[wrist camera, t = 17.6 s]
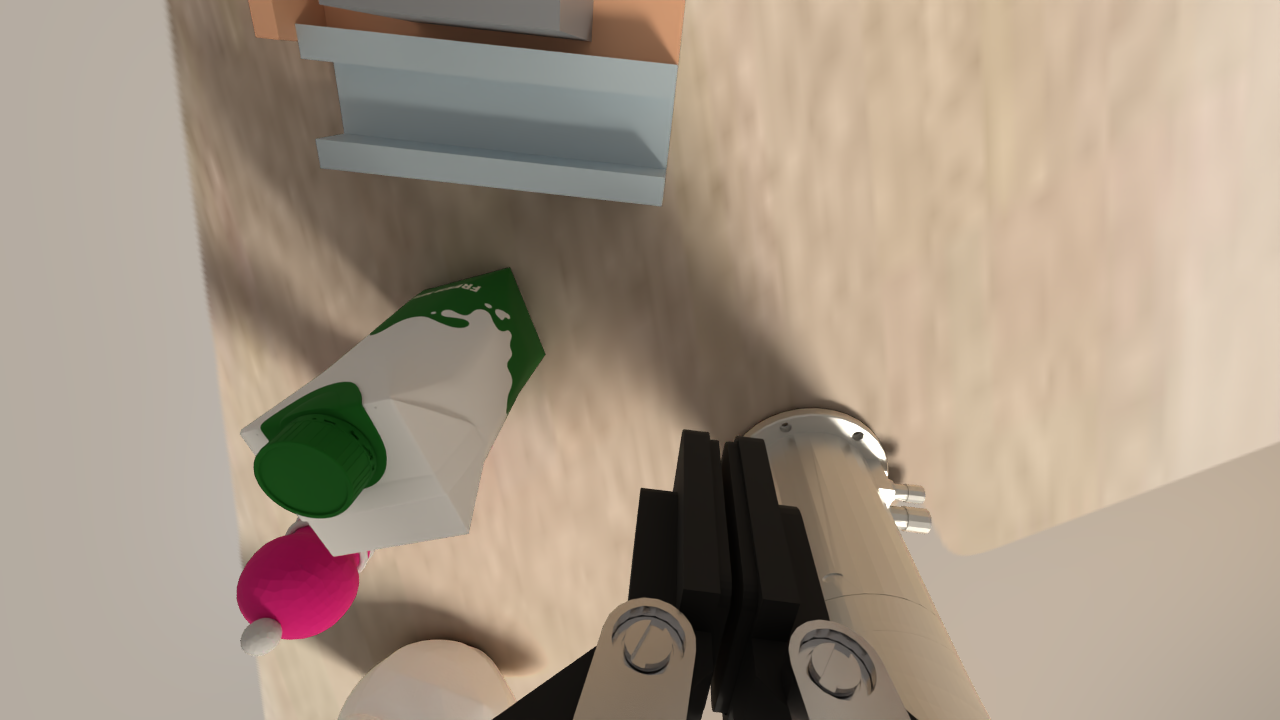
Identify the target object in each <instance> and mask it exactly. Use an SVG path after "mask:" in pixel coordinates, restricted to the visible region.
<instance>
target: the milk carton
mask: <svg viewBox="0 0 1280 720" xmlns="http://www.w3.org/2000/svg"><path fill="white" fill-rule="evenodd" d="M544 356H545V352H544V349H543V347H542V345H541V342H540V340H539V337H538V335H537V332H536V330H535V327H534V325H533V323H532V320H531V318H530V315H529V313H528V310H527V308H526V305H525V303H524V300H523V298H522V296H521V293H520V291H519V288H518V286H517V283H516V281H515V278H514V276H513V273H512V271H511V269H510V267H509V268H505V269H502V270H498V271H494V272H491V273H487V274H483V275H479V276H476V277H472V278H468V279H464V280H461V281H457V282H453V283H450V284H446V285H442V286H438V287H435V288H431V289H427V290H423V291H422V292H421V293H419V294H418V295H416V296H415V297H414V298H412V299H411V300H410V301H409V302H407V303H406V304H405V305H404V306H403V307H401V308H400V309H399V310H398V311H396V312H395V313H394V314H393V315H392V316H391V317H389V318H388V319H387V320H386V321H385V322H383V323H382V324H381V325H380V326H379V327H377V328H376V329H375V330H374V331H373V332H371V333H370V334H369V335H368V336H367V337H365V338H364V339H363V340H362V341H361V342H359V343H358V344H357V345H356V346H355V347H353V348H352V349H351V350H350V351H349V352H347V353H346V354H345V355H344V356H343V357H341V358H340V359H339V360H338V361H337V362H335V363H334V364H333V365H332V366H331V367H329V368H328V369H327V370H325V371H324V372H323V373H322V374H320V375H319V376H317V377H316V378H314V379H313V380H312V381H310V382H309V383H307V384H306V385H305V386H303V387H302V388H300V389H299V390H297V391H296V392H295V393H293V394H292V395H290V396H289V397H287V398H286V399H285V400H283V401H282V402H280V403H279V404H277V405H276V406H275V407H273V408H272V409H270V410H269V411H267V412H266V413H265V414H263V415H262V416H260V417H259V418H257V419H256V420H254V421H253V422H252V423H250V424H249V425H247V426H246V427H244V428H243V429H242V430H241V432H240V435H241V436H242V438H243V439H244V441H245V442H246V444H247V445H248V446H249V448H250V449H251V450H252V452H253V453H254V455H255V456H256V457H255V460H254V474H255V477H256V480H257V482H258V484H259V486H260V487H261V489H262V490H263V491H264V492H265V494H266V495H267V496H268V497H269V498H270V499H272V500H273V501H274V502H275V503H277V504H278V505H279V506H281V507H283V508H284V509H286V510H288V511H290V512H292V513H295V514H297V516H298V517H299V518H300V519H301V520H302V521H303V522H304V521H307V522H308V523H309V525H310V526H311V528H312V529H313V530H314V532H315V533H316V534H317V536H318V537H319V538H320V540H321V541H322V542H323V544H324V545H325V546H326V548H327V549H328V550H329V552H330V553H331V554H332V556H341V555H347V554H353V553H359V552H364V551H370V550H376V549H382V548H388V547H394V546H400V545H406V544H412V543H418V542H423V541H429V540H435V539H441V538H447V537H453V536H459V535H465V534H469V530H470V525H471V520H472V516H473V511H474V506H475V501H476V497H477V492H478V487H479V483H480V478H481V474H482V469H483V465H484V462H485V460H486V458H487V455H488V453H489V451H490V449H491V447H492V445H493V443H494V441H495V440H496V438H497V436H498V434H499V432H500V430H501V428H502V426H503V424H504V422H505V420H506V418H507V416H508V414H509V412H510V410H511V408H512V406H513V404H514V402H515V400H516V398H517V396H518V394H519V393H520V391H521V390H522V388H523V387H524V385H525V384H526V382H527V381H528V379H529V378H530V376H531V375H532V373H533V372H534V370H535V369H536V367H537V366H538V364H539V363H540V362H541V360H542V359H543V357H544Z"/></svg>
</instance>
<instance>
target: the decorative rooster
mask: <svg viewBox="0 0 1280 720" xmlns="http://www.w3.org/2000/svg"><path fill="white" fill-rule="evenodd" d="M516 702H517V701H516V699H515V697H514V695H513V693H512V691H511V689H510V688H509V686H508V684H507V682H506V681H505V679H504V677H503V676H502V674H501V673H500V671H499V669H498V668H497V666H496V665H495V663H494V662H493V661H492V660H491V659H490V658H489V657H488V656H487V655H486V654H485V653H484V652H482V651H481V650H479V649H476V648H474V647H471V646H467V645H465V644H463V643H461V642H457V641H451V640H425V641H420V642H416V643H412V644H409V645H406V646H404V647H402V648H400V649H398V650H397V651H395V652H394V653H393V654H391V655H390V656H389V657H388V658H386V659H385V660H383V661H382V662H380V663H379V664H377V665H376V666H375V667H373V668H372V669H371V670H370V671H369V672H368V673H367V674H366V675H365V676H364V677H363V678H362V679H361V680H360V681H359V682H358V684H357V685H356V686H355V688H354V689H353V690H352V692H351V693H350V695H349V696H348V698H347V700H346V701H345V703H344V705H343V707H342V709H341V712H340V714H339V717H338V720H492V719H493V718H495V717H496V716H498V715H499V714H500V713H502V712H503V711H505V710H506V709H508V708H509V707H510V706H512V705H513V704H515V703H516Z"/></svg>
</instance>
